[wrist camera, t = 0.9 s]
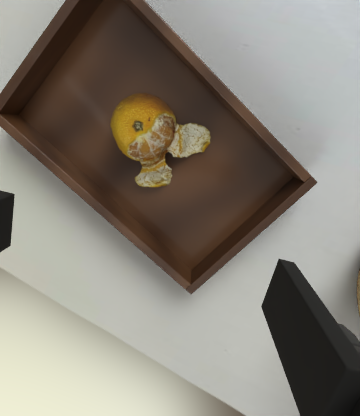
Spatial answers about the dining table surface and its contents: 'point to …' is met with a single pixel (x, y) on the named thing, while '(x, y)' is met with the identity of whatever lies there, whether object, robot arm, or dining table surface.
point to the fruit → (154, 136)
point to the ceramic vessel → (358, 291)
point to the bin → (181, 167)
